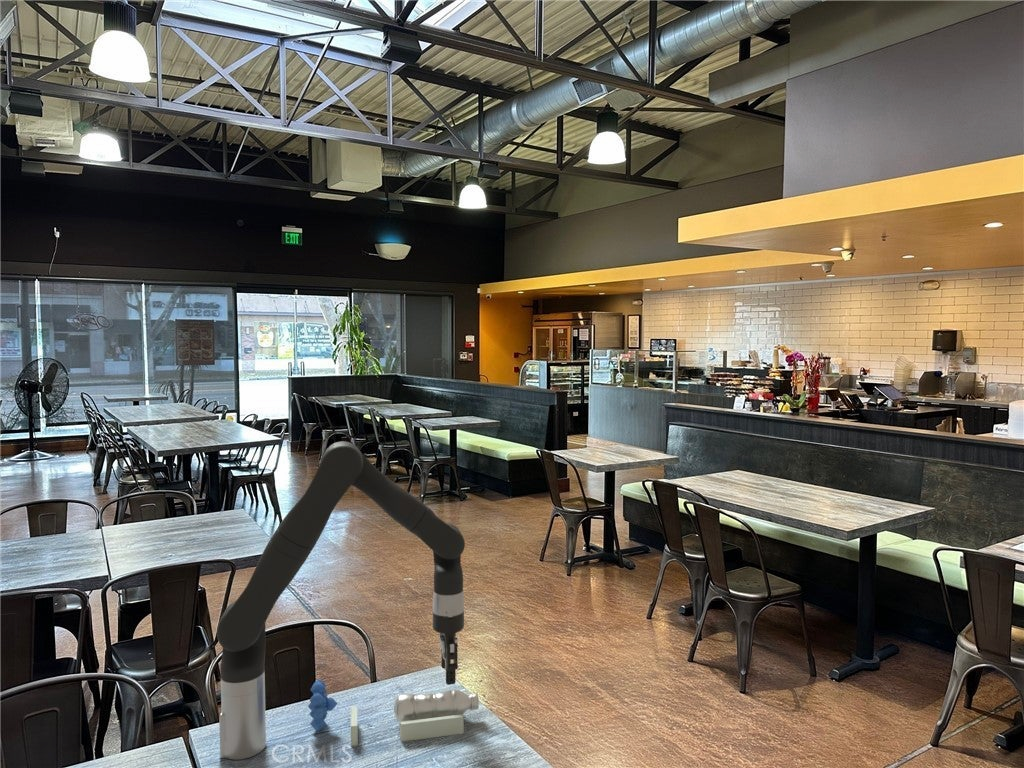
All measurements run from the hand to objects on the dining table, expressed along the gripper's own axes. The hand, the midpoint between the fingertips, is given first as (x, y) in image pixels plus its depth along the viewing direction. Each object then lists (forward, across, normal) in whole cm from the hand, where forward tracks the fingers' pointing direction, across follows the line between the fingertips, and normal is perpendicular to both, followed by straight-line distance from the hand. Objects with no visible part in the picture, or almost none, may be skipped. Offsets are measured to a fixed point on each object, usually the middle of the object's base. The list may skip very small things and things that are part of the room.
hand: (448, 675), depth 164 cm
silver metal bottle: (+7, -1, -13) cm, 15 cm away
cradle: (+12, 0, -3) cm, 12 cm away
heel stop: (+12, 0, -22) cm, 25 cm away
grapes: (+12, -4, -29) cm, 32 cm away
